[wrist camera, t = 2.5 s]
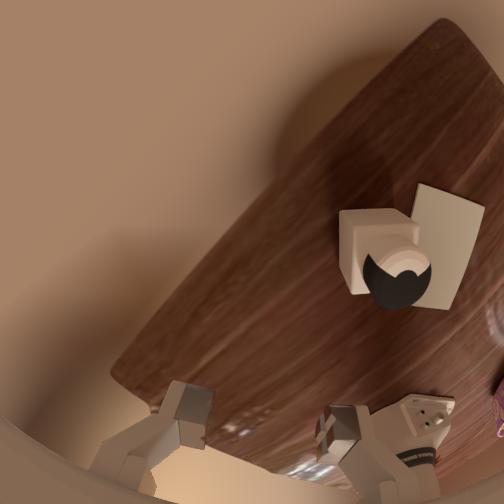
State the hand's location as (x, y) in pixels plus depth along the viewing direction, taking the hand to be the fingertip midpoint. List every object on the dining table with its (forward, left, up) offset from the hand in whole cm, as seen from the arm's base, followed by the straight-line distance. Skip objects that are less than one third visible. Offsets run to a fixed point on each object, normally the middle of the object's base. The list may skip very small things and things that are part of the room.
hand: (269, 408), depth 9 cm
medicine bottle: (-11, 0, -25) cm, 28 cm away
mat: (-22, 0, -25) cm, 33 cm away
